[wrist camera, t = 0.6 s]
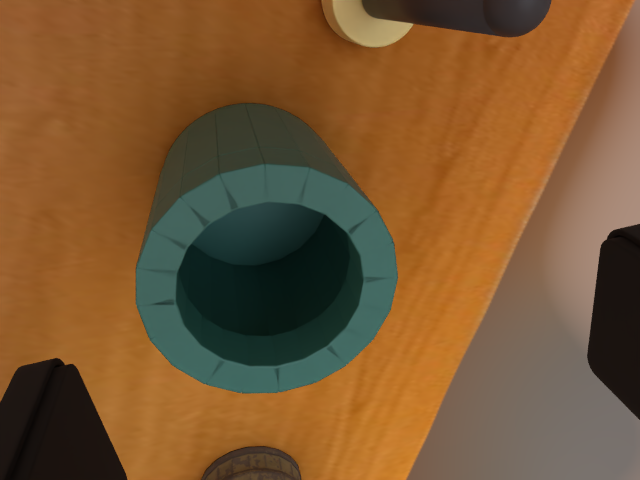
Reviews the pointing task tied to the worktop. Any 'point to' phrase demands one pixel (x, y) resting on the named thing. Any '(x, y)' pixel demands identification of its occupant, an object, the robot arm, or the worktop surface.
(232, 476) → the thermos
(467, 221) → the worktop surface
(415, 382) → the worktop surface
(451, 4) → the joystick
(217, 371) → the teal hollow cylinder
